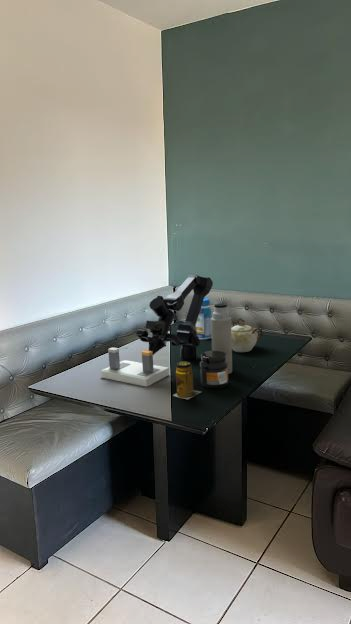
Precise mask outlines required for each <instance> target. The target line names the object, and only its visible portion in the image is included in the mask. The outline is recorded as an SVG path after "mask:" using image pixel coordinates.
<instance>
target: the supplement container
mask: <svg viewBox="0 0 351 624" xmlns="http://www.w3.org/2000/svg"><path fill="white" fill-rule="evenodd" d="M200 359H201V361H200V362H199V368H200V369H199V371H200V384H201V385H202V386H203V387H204V388H206V389H213V390H217V389H221V388H224V387H226V386H227V385H228V384H229V374H228V362H227V361H226V353H224V352H222V351H212V350H207V351H204V352H202V353H201V354H200Z"/></svg>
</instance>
